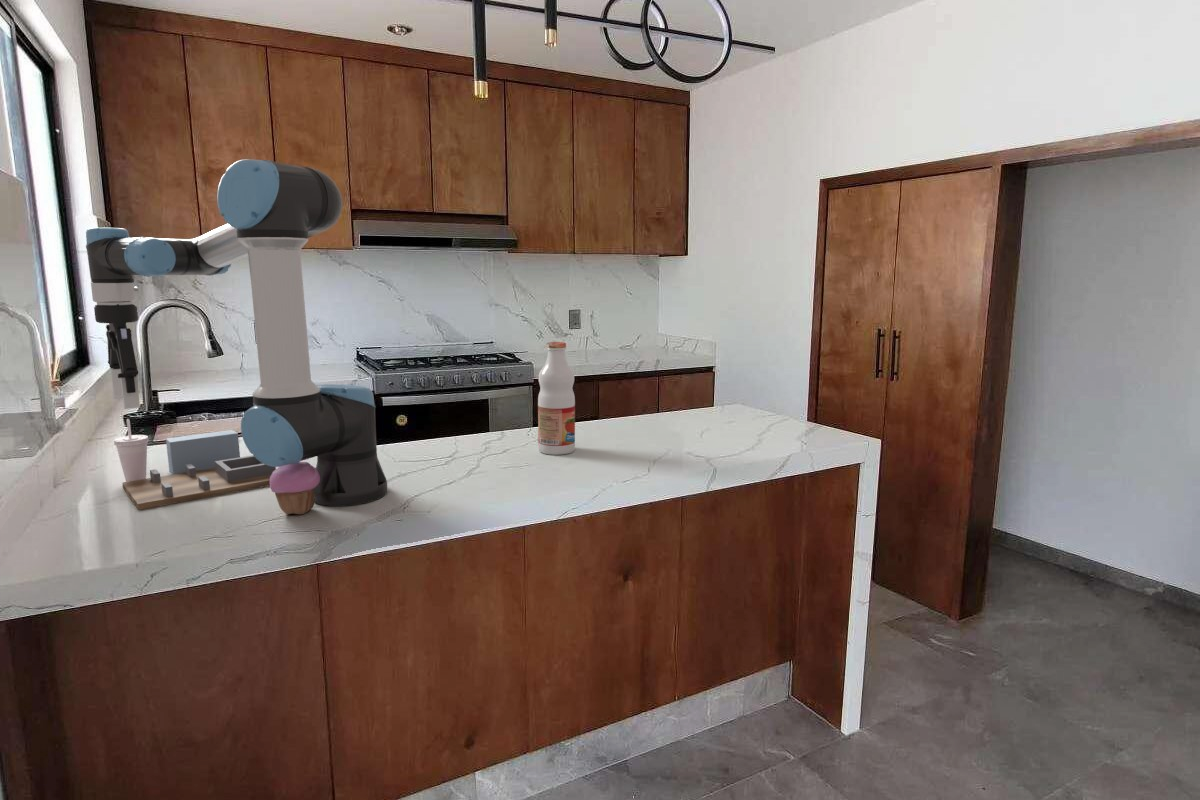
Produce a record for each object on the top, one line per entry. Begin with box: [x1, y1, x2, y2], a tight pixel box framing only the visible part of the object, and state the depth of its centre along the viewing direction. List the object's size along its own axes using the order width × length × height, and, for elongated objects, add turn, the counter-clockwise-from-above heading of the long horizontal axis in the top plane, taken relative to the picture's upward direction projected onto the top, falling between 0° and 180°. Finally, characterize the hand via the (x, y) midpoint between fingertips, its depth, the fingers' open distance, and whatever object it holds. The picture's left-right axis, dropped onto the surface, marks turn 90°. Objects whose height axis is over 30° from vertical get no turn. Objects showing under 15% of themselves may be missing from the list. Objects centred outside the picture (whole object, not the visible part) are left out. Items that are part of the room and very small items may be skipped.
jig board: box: [121, 468, 271, 511], centre depth 156 cm, size 18×28×1 cm, turn 131°
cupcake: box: [269, 461, 320, 515], centre depth 138 cm, size 9×9×10 cm
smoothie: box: [113, 418, 150, 482], centre depth 157 cm, size 6×6×14 cm
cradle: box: [215, 454, 277, 482], centre depth 160 cm, size 10×10×2 cm
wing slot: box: [149, 464, 210, 497], centre depth 152 cm, size 16×8×2 cm, turn 41°
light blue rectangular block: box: [165, 429, 241, 475], centre depth 167 cm, size 14×4×8 cm, turn 131°
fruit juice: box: [537, 341, 576, 456], centre depth 184 cm, size 9×9×28 cm
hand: (126, 403), depth 155 cm, fingers open, 13 cm apart
